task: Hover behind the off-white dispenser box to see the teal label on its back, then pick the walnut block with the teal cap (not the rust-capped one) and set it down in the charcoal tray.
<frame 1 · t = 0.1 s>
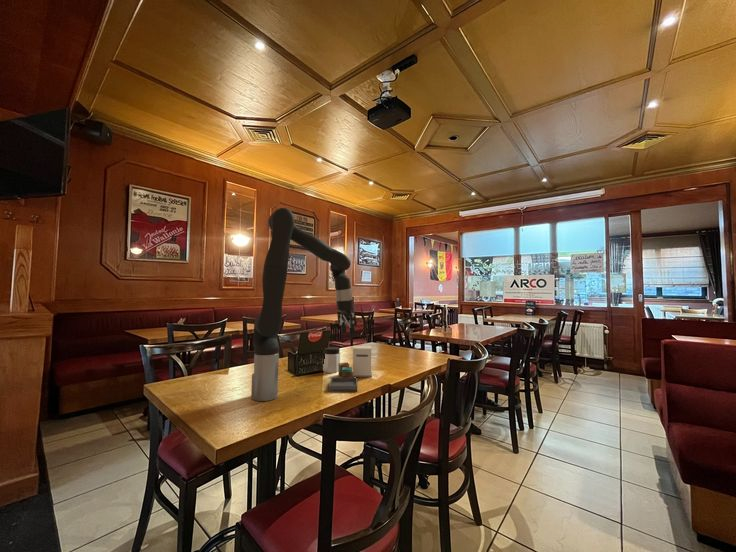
hand: (348, 334, 138), 22 cm above the table, tool pointing down, fingers open, 8 cm apart
jar: (331, 371, 159), on the table
rust block: (343, 375, 150), on the table
dispenser: (361, 375, 151), on the table
tray: (343, 387, 132), on the table
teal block: (346, 381, 141), on the table
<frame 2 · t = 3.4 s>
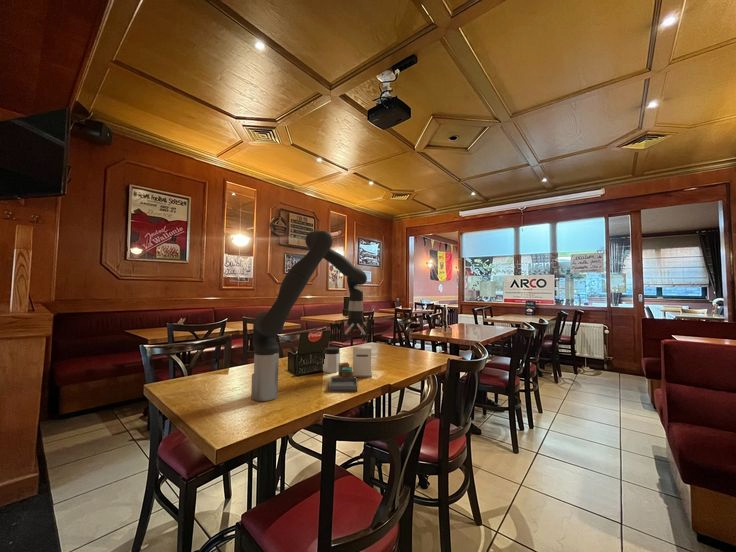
hand: (354, 341, 154), 16 cm above the table, tool pointing down, fingers open, 8 cm apart
nothing on the table moved.
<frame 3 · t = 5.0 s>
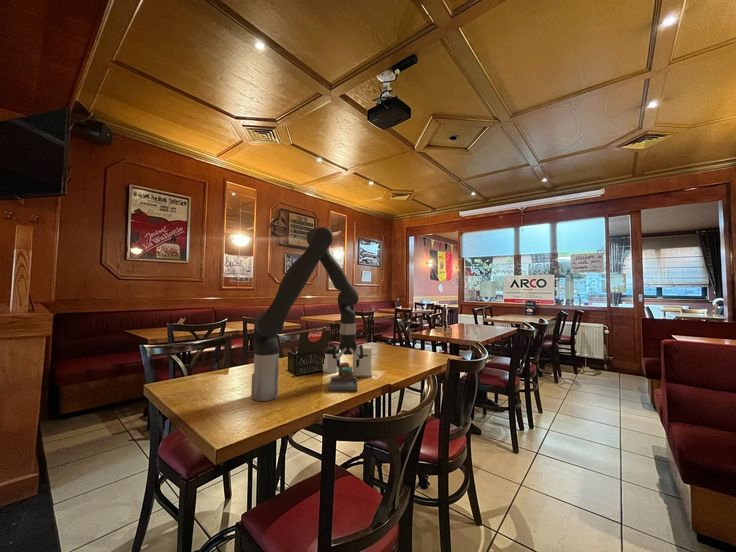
hand: (348, 367, 141), 6 cm above the table, tool pointing down, fingers open, 8 cm apart
nothing on the table moved.
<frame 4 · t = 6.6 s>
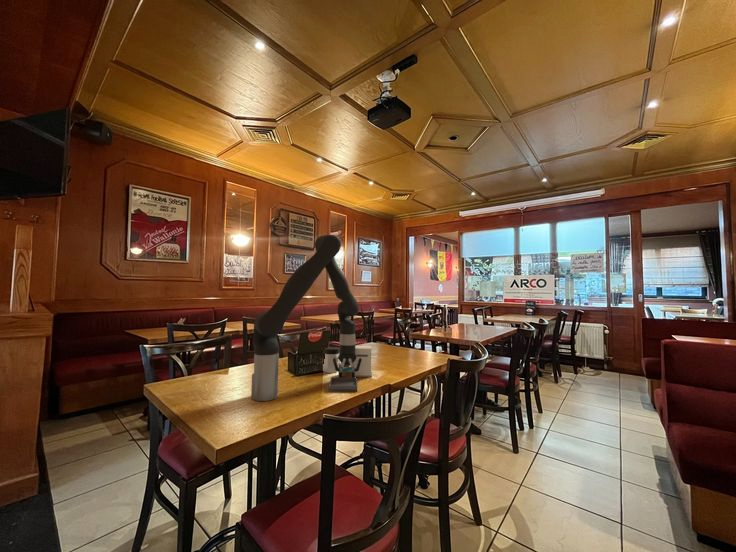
hand: (347, 379, 141), 1 cm above the table, tool pointing down, fingers closed on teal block, 4 cm apart
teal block: (346, 381, 141), on the table, touching gripper
everything else where it was.
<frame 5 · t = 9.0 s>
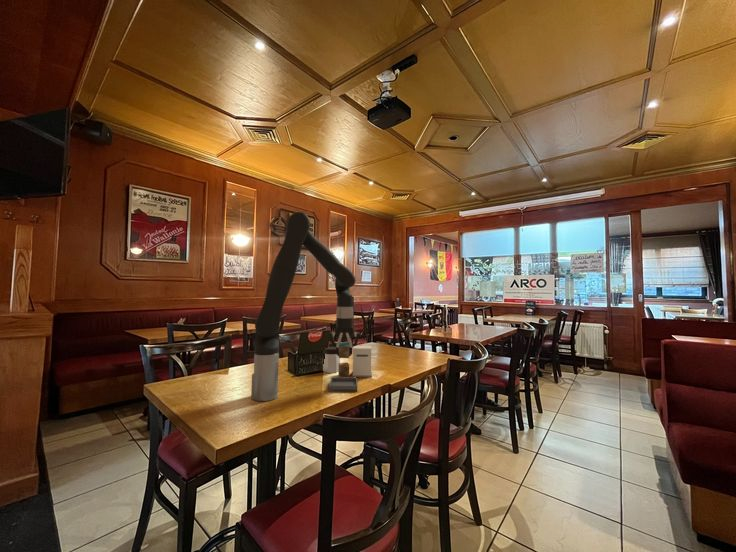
hand: (344, 355, 133), 14 cm above the table, tool pointing down, fingers closed on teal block, 4 cm apart
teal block: (344, 356, 133), point 13 cm above the table, touching gripper
everything else where it was.
when the fingers open (2 cm above the table, at t = 11.7 s): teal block stays where it is, resting on tray.
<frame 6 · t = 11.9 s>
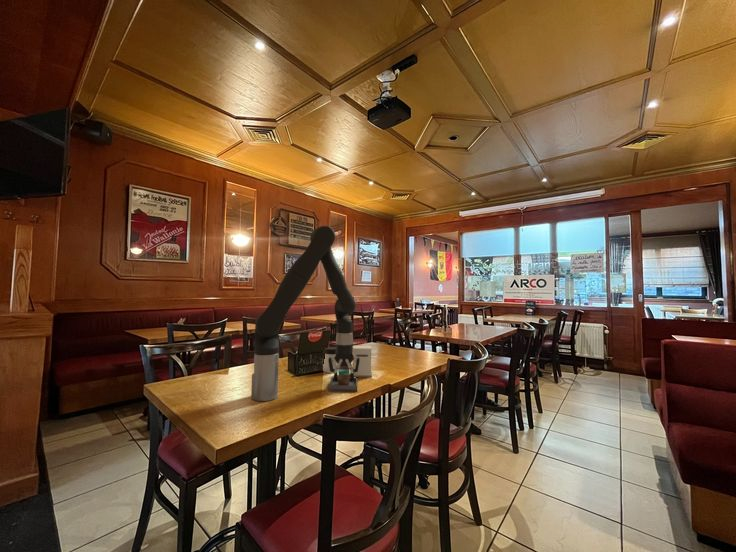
hand: (343, 381, 132), 3 cm above the table, tool pointing down, fingers open, 6 cm apart
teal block: (343, 384, 132), point 1 cm above the table, touching tray
everything else where it was.
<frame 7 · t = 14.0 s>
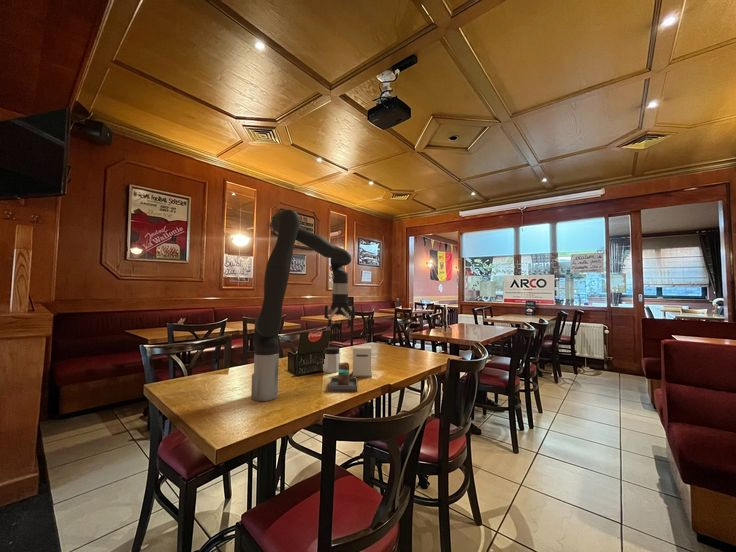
hand: (339, 327, 141), 25 cm above the table, tool pointing down, fingers open, 8 cm apart
nothing on the table moved.
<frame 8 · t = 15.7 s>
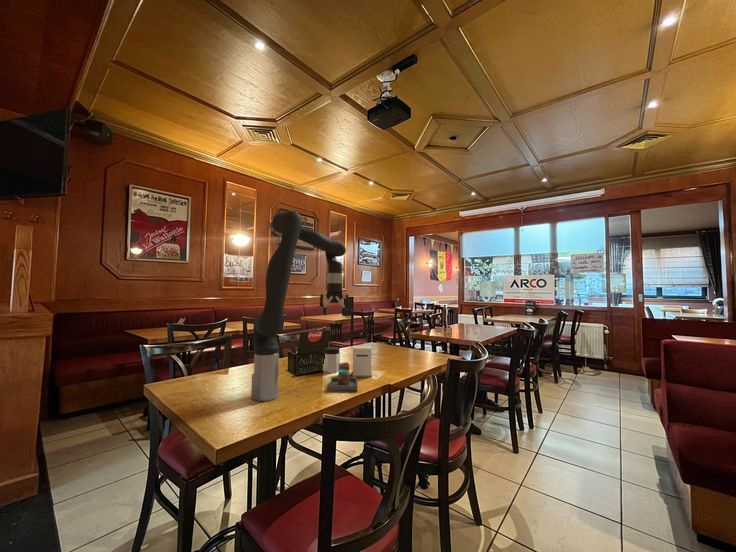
hand: (334, 315, 148), 30 cm above the table, tool pointing down, fingers open, 8 cm apart
nothing on the table moved.
at the end: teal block inside the target area on the tray (0.0 cm from its centre), point 1.0 cm above the tray's base; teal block tilted 0°; rust block moved 0.1 cm from its start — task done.
